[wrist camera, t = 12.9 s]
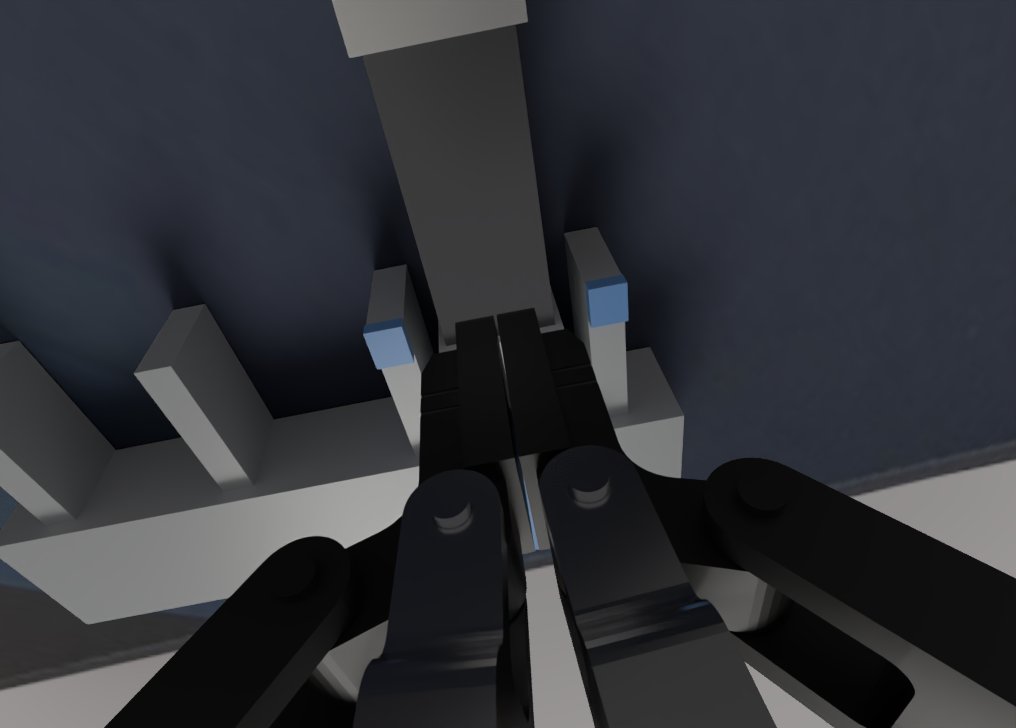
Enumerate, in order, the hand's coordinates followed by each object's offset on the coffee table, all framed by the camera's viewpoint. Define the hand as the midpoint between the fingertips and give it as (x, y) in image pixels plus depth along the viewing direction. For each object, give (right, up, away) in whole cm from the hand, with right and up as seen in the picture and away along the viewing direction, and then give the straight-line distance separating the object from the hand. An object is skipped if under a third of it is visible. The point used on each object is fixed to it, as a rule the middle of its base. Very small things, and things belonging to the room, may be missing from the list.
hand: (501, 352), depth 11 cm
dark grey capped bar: (-1, +5, +5) cm, 7 cm away
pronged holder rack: (-6, -1, +9) cm, 11 cm away
